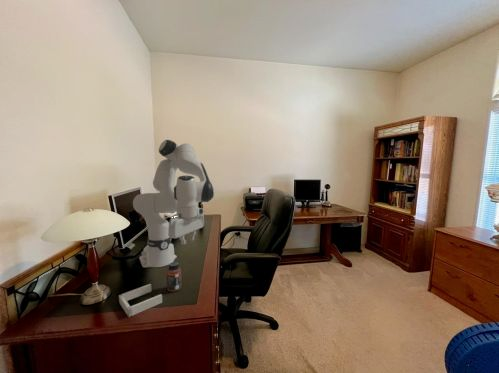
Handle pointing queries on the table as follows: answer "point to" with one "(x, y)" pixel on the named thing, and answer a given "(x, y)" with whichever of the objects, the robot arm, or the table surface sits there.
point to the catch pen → (140, 306)
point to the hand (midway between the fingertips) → (187, 242)
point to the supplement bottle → (174, 277)
